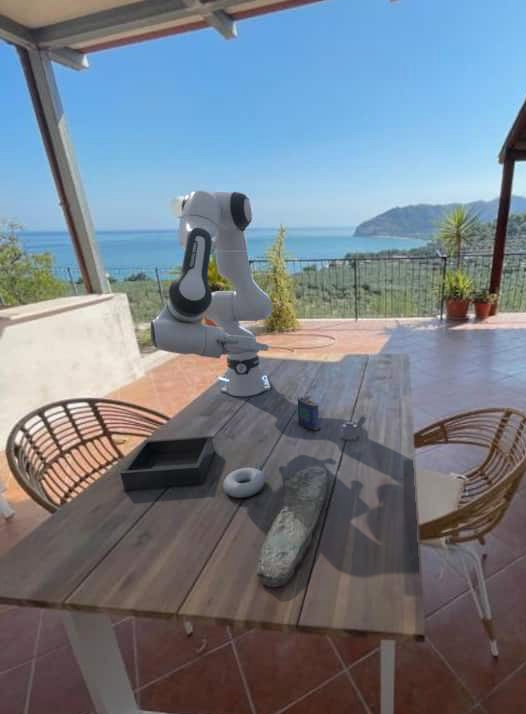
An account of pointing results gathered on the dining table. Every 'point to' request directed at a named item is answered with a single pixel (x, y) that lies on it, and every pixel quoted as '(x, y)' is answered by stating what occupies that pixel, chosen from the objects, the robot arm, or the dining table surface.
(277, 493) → the dining table surface
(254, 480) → the donut
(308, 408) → the flask
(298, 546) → the elongated rock
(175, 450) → the tray
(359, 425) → the lighter
